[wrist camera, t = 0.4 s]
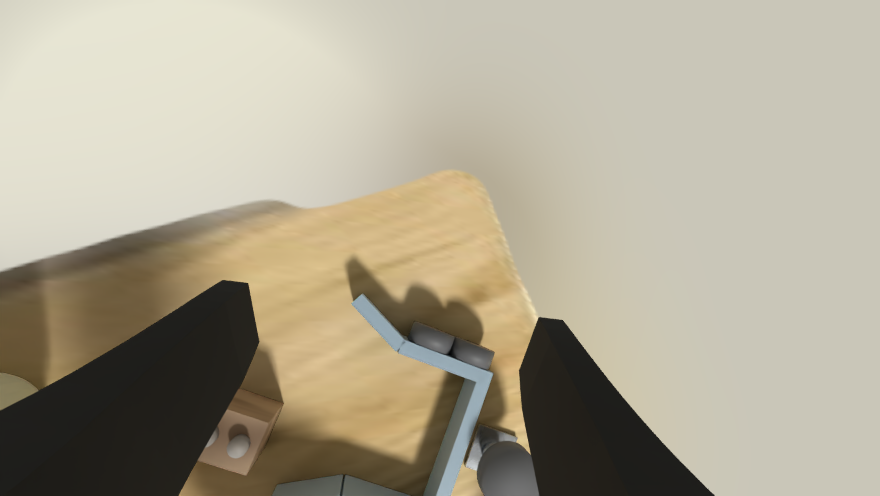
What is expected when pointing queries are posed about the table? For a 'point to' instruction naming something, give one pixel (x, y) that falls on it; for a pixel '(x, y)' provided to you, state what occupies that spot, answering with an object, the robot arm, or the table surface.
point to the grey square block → (485, 443)
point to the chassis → (474, 367)
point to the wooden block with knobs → (242, 432)
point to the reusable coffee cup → (14, 389)
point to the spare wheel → (507, 471)
